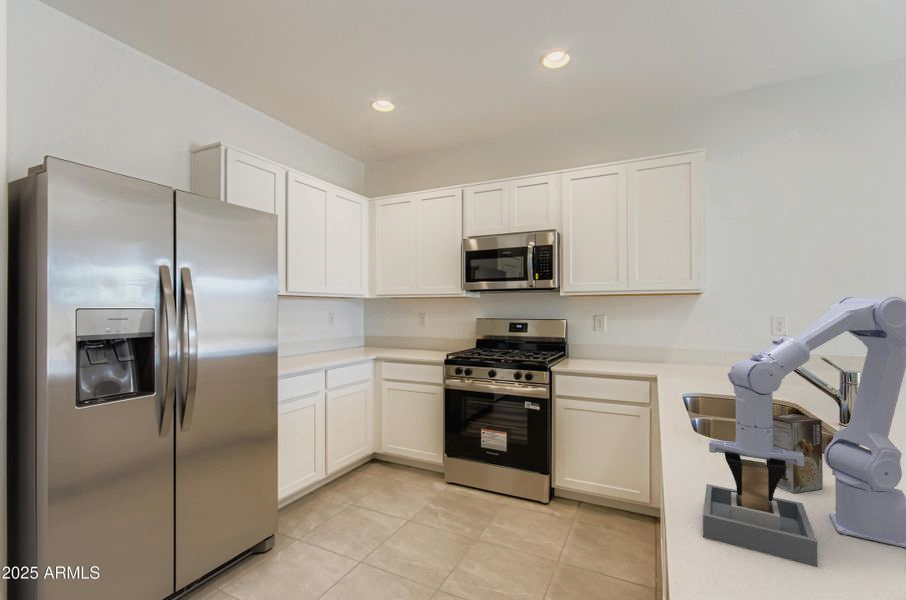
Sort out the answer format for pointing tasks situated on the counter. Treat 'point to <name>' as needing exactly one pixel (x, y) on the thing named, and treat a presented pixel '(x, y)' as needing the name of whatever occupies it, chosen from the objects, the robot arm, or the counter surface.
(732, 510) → the socket box
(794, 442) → the coffee box
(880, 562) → the counter surface
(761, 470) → the peg
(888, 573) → the counter surface
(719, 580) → the counter surface
